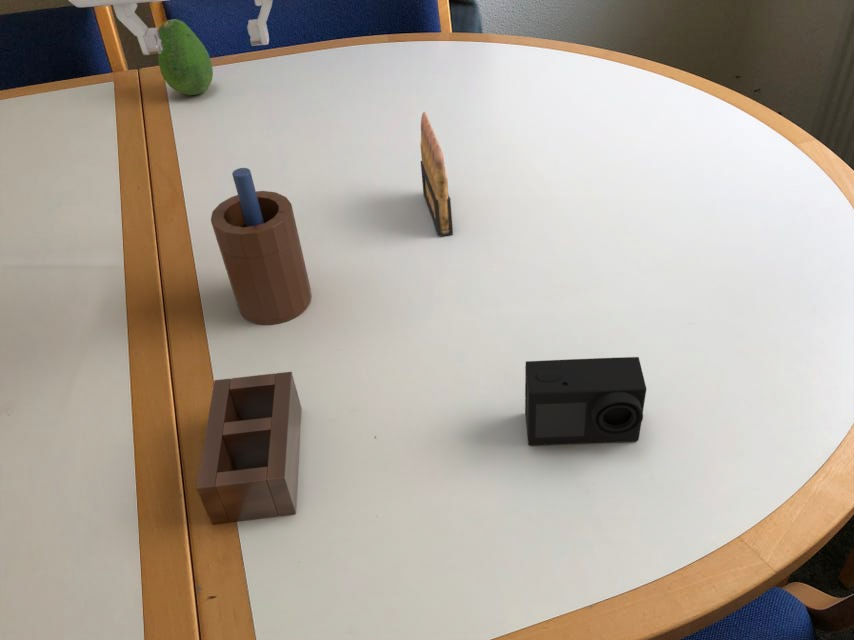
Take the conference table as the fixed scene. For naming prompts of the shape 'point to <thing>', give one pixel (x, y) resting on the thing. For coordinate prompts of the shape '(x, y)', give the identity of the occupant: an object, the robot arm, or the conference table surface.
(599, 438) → the digital camera
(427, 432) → the conference table surface
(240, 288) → the cup
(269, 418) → the rack
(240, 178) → the brush
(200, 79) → the fruit
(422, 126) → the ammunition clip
